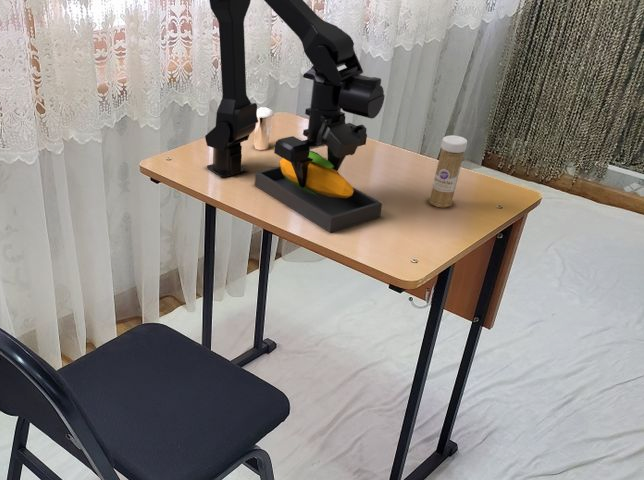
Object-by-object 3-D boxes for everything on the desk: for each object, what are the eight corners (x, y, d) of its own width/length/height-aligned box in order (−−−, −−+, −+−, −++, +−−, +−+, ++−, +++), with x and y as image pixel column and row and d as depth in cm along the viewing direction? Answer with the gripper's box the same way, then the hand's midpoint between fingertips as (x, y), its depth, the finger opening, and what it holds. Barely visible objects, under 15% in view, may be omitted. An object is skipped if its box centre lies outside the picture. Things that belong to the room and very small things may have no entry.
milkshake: (246, 144, 174) (249, 102, 168) (268, 143, 174) (272, 101, 168) (250, 151, 170) (252, 108, 164) (273, 150, 171) (276, 107, 165)
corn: (298, 135, 152) (370, 167, 139) (297, 169, 157) (366, 203, 143) (271, 145, 149) (341, 179, 136) (270, 180, 154) (338, 216, 140)
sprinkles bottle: (427, 206, 147) (441, 141, 139) (430, 197, 151) (444, 133, 143) (451, 210, 146) (467, 144, 138) (453, 200, 149) (468, 136, 141)
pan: (254, 185, 155) (255, 172, 154) (301, 173, 160) (303, 160, 159) (329, 232, 138) (331, 218, 137) (380, 217, 143) (382, 203, 142)
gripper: (313, 128, 128) (304, 209, 138) (393, 109, 136) (379, 188, 145) (275, 109, 136) (269, 187, 146) (352, 93, 144) (342, 168, 153)
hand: (316, 183), depth 147 cm, fingers closed on corn, 7 cm apart
